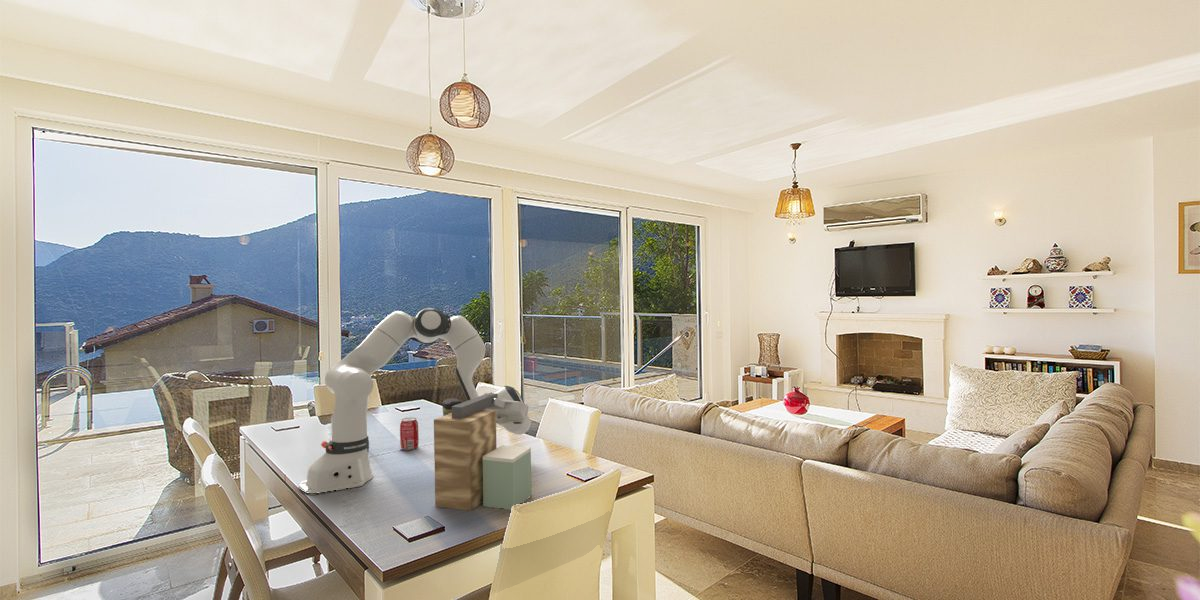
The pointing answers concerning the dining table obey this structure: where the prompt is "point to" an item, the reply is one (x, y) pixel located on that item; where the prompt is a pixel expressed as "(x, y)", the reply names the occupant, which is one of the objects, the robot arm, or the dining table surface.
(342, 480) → the robot arm
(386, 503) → the dining table surface
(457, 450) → the oak stand
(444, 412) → the coffee jar
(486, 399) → the grey bar with knob
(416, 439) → the soda can
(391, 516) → the dining table surface
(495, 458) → the block
